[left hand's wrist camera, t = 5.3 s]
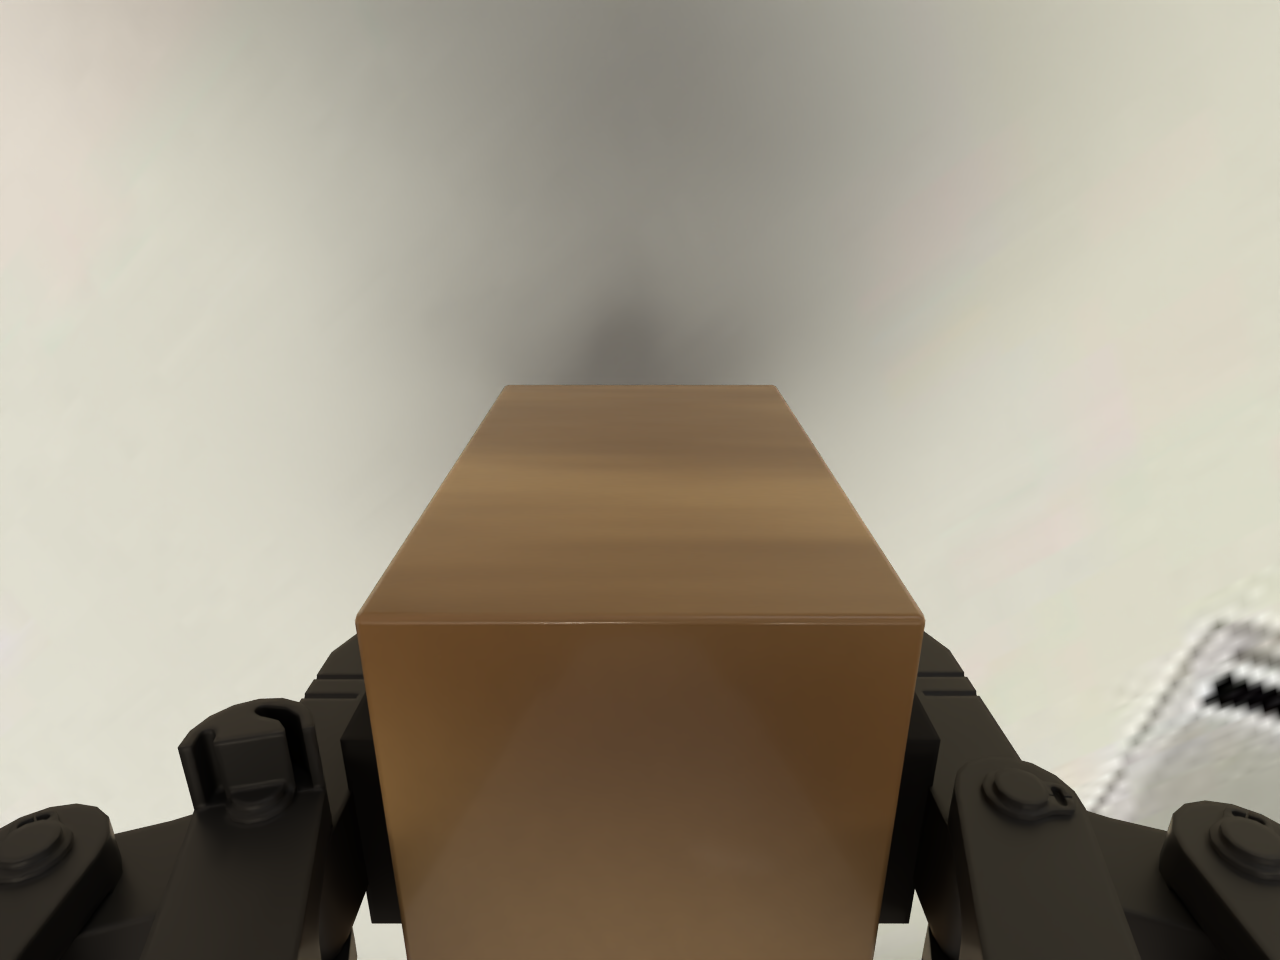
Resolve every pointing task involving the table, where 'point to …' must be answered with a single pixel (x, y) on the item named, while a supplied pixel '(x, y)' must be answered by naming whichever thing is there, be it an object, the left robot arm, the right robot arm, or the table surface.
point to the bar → (640, 687)
